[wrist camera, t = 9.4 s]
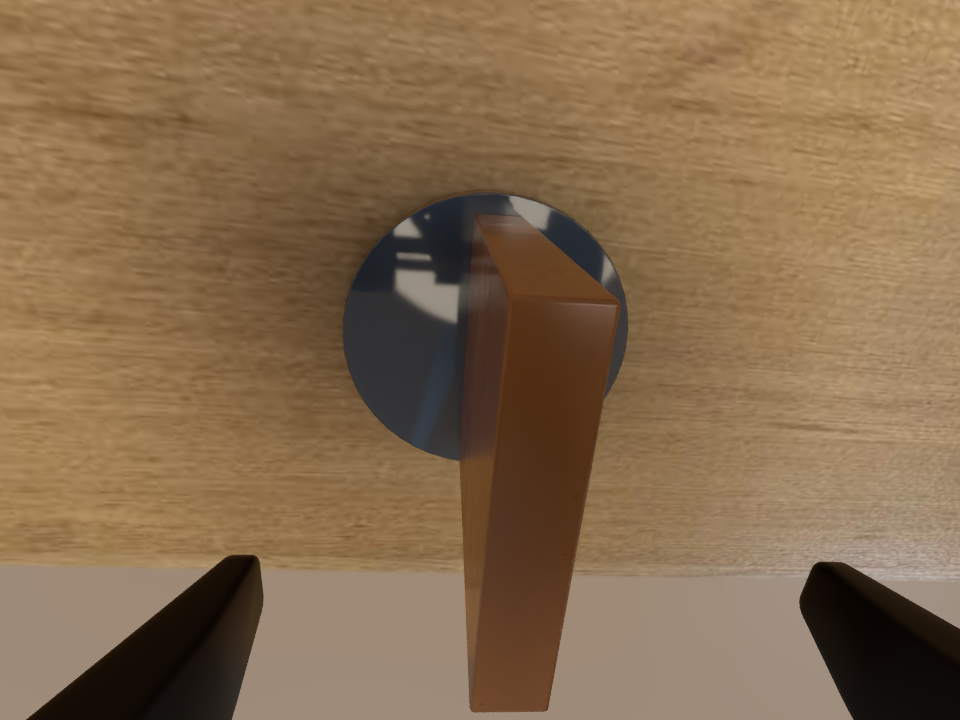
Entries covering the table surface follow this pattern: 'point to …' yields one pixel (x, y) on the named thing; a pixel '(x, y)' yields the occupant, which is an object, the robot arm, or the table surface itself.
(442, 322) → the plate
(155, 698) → the robot arm
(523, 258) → the brown wooden flat block
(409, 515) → the table surface
